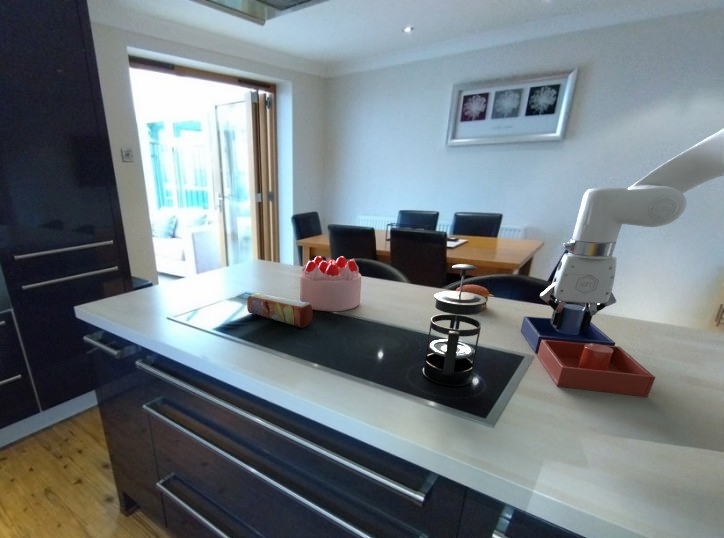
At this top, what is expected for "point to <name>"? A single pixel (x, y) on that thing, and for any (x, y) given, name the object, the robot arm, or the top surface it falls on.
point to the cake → (330, 284)
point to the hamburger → (476, 292)
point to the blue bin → (544, 330)
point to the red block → (595, 357)
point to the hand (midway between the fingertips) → (568, 327)
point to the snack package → (280, 309)
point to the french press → (453, 336)
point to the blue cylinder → (572, 319)
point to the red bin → (618, 378)
